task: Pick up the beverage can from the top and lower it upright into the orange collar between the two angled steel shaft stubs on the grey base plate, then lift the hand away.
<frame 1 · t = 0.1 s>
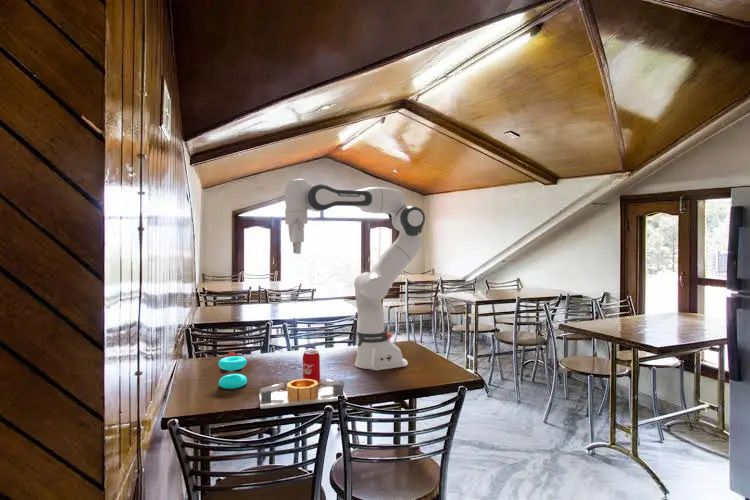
hand: (296, 253, 191), 48 cm above the table, tool pointing down, fingers open, 8 cm apart
donuts: (233, 386, 174), on the table
coupling base: (302, 398, 159), on the table
beverage can: (311, 384, 174), on the table
mechanical linkage: (232, 366, 202), on the table
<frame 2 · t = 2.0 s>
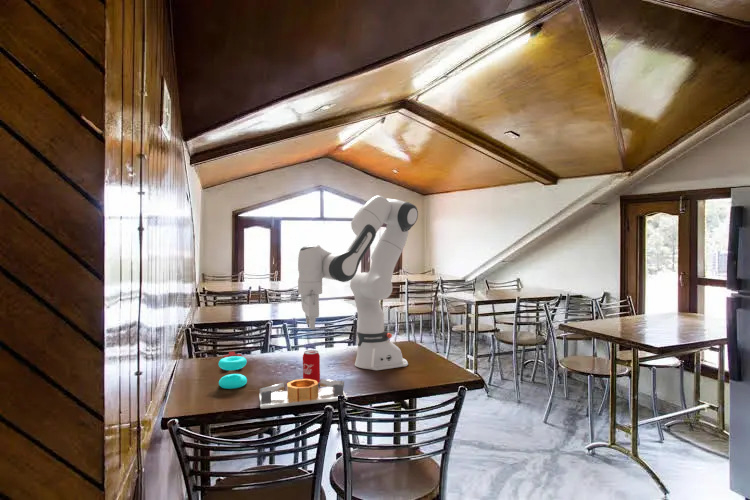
hand: (310, 326, 174), 21 cm above the table, tool pointing down, fingers open, 8 cm apart
nothing on the table moved.
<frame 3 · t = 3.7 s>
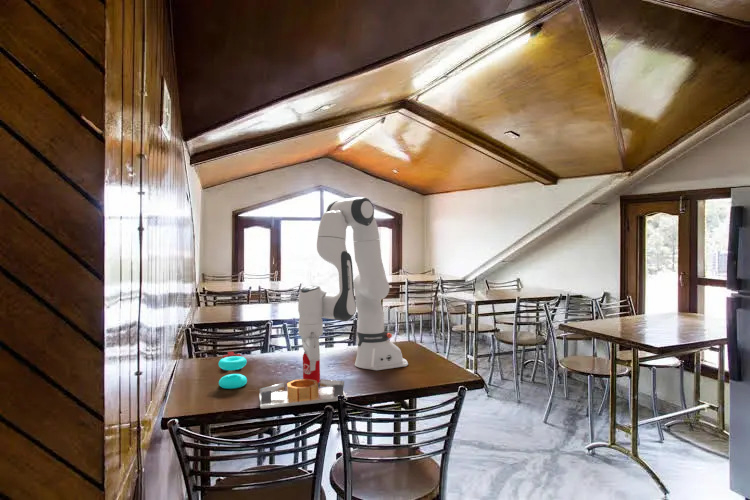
hand: (311, 367, 174), 6 cm above the table, tool pointing down, fingers closed on beverage can, 6 cm apart
beverage can: (311, 384, 174), on the table, touching gripper
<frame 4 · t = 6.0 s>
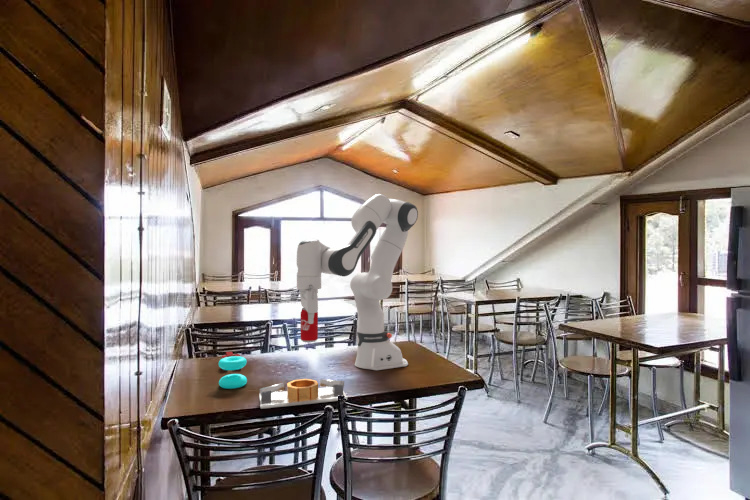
hand: (309, 321, 172), 23 cm above the table, tool pointing down, fingers closed on beverage can, 6 cm apart
beverage can: (309, 341, 172), point 16 cm above the table, touching gripper
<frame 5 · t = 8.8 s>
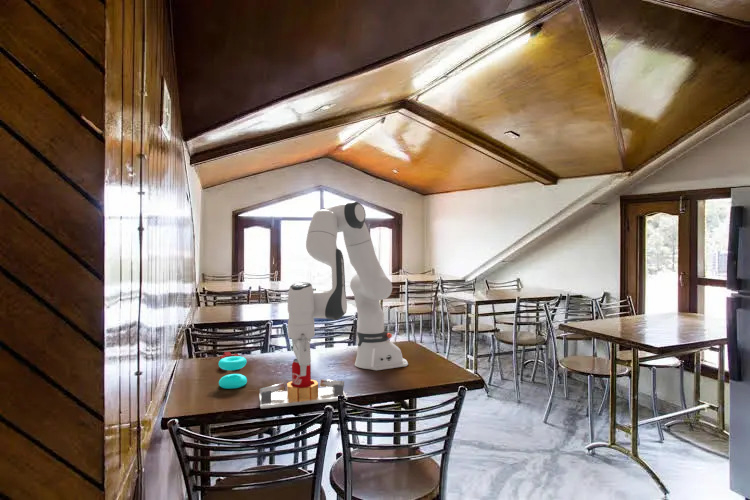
hand: (301, 372, 159), 9 cm above the table, tool pointing down, fingers closed on beverage can, 6 cm apart
beverage can: (301, 395, 159), point 1 cm above the table, touching coupling base, gripper
when the fingers open (9 cm above the table, at t = 9.6 s): beverage can stays where it is, resting on coupling base.
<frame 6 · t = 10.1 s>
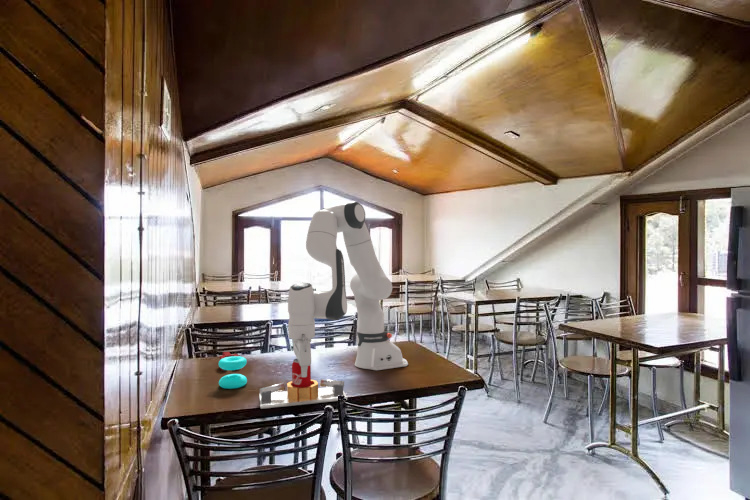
hand: (302, 372, 159), 9 cm above the table, tool pointing down, fingers open, 8 cm apart
beverage can: (301, 395, 159), point 1 cm above the table, touching coupling base
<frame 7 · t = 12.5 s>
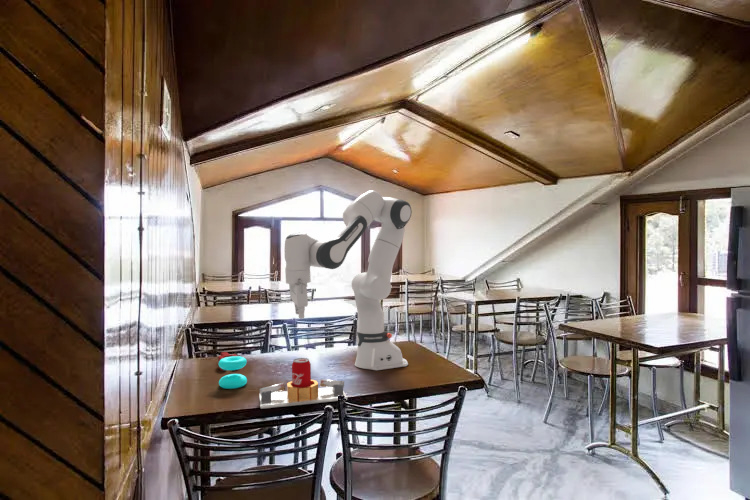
hand: (299, 316, 170), 26 cm above the table, tool pointing down, fingers open, 8 cm apart
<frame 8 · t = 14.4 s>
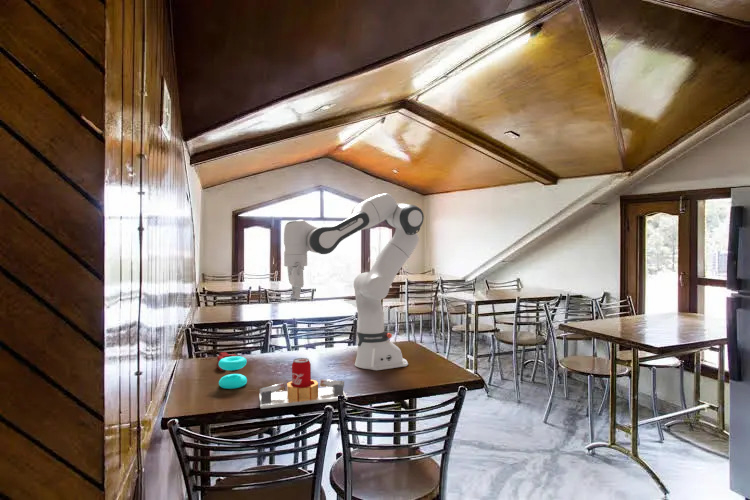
hand: (296, 297, 183), 31 cm above the table, tool pointing down, fingers open, 8 cm apart
at the end: beverage can 0.4 cm from the coupling base (horizontally); beverage can tilted 0°; beverage can point 0.8 cm above the table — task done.
